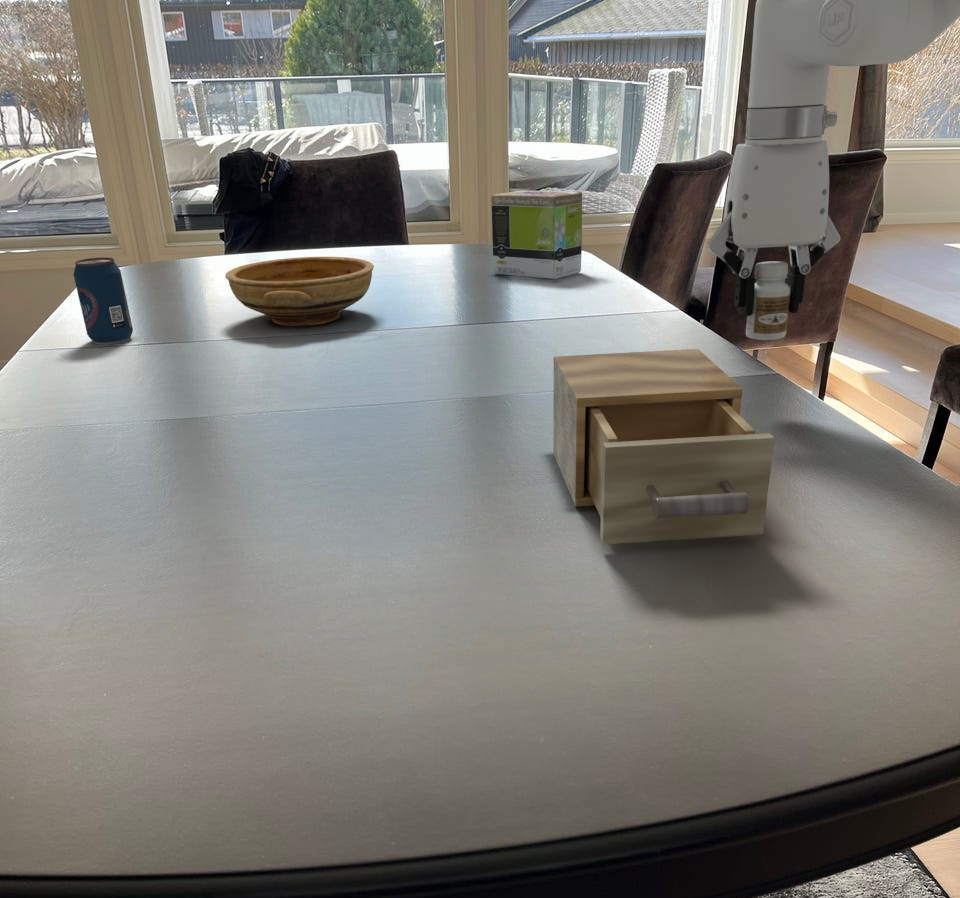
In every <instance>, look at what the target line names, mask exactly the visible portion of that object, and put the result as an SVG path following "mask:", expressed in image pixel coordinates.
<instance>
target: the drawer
mask: <svg viewBox="0 0 960 898" xmlns="http://www.w3.org/2000/svg"><path fill="white" fill-rule="evenodd" d="M774 444H775V436H773V435H772V434H771V433H770V432H767V433H766V432H765V433H756V430H755V428H753V427H752V425H750V424H749V423H748V422H747V421H746V420H745V419H744V418H743V417H742V416H741V414H740V415H739V414H738V413H737V412H736V411H735V410H734V409H733V408H732V407H731V406H730V405H729V404H728V403H727V402H726V401H725V400H724V399H713V400H695V401H677V402H660V403H642V404H624V405H606V406H589V407H586V414H585V464H584V482H585V484H586V487H587V489H588V491H589V493H590V495H591V497H592V500H593V502H594V504H595V508H596V510H597V513H598V515H599V517H600V527H599V529H600V531H599V539H600V541H601V544H602V545H615V544H618V545H619V544H631V543H633V544H634V543H647V542H648V543H649V542H662V541H663V542H664V541H665V542H666V541H680V540H694V539H695V540H696V539H698V540H699V539H711V538H713V539H714V538H726V537H743V536H761V535H763V534H764V527H765V520H766V517H765V516H766V510H767V503H768V495H769V486H770V477H771V470H772V461H773V452H774V446H775V445H774Z"/></svg>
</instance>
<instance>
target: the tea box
mask: <svg viewBox="0 0 960 898" xmlns="http://www.w3.org/2000/svg"><path fill="white" fill-rule="evenodd" d="M490 198H491V199H490V201H491V204H490V205H491V236H492V237H491V239H492V240H491V241H492V265H493V266H492V267H493V270H494V271H493V270H492V271H493V274H494V275H504V276H516V277H517V276H518V277H530V278H541V279H550V280H551V279H552V280H556V279H562V278H564V277H565V278H566V277H569V276H572V275H576V274H578V273H581V271H582V250H583V249H582V247H583V246H582V245H583V244H582V243H583V242H582V241H583V236H582V235H583V192H582V191H576V190H575V191H574V190H571V191H565V190H563V191H562V190H529V189H528V190H526V189H525V190H521V189H520V190H513V191H506V192H501V193H494V194H492V195H490Z"/></svg>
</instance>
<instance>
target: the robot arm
mask: <svg viewBox="0 0 960 898" xmlns="http://www.w3.org/2000/svg"><path fill="white" fill-rule="evenodd" d="M958 18H960V0H756V1H755V8H754V19H753V29H752V30H753V31H752V43H751V44H752V46H751V59H750V72H749V85H748V100H747V110H746V111H747V112H746V125H745V140H744V143H739V144H736V147H735V149H734V154H733V159H732V162H731V167H730V172H729V178H728V183H727V190H726V196H725V202H724V211H723V218H722V221H721V223H720V224H719V226H718V227H717V229H716V230H715V232H713V234H712V236H711V237H710V239H709V240H708V241H707V243H706V248H707V250H708V251H709V252H711V253H712V254H713V255H714V256H716V257H718V258H719V259H720V260H722V261H723V263H724V264H725V265H726V266H727V267H728V268H729V269H730V270H731V271H732V273H733V274H734V275H735V287H734V299H733V303H734V307H735V308H737V312H738V313H739V314H740V315H742V316H744V317H747V316H750V315H752V312H753V300H754V288H755V283H756V278H755V277H752V276H753V271H752V270H753V268H754V264H755V261H756V257H757V254H758V250H759V249H763V248H778V247H779V248H780V247H781V248H782V247H788V253H789V263H790V266H789V270H788V274H787V278H786V279H785V283H786V284H788V285H789V286H790V288H791V291H790V302H789V312H788V313H791V314H798V312H799V308H800V307H799V306H800V304H802V303H803V300H804V292H805V282H806V275H808V274H809V273H810V272H811V268H812V267H813V266H814V265H815V264H816V263H817V262H818V261H819V260H820V259H821V258H822V257H823V256H824V254H825V253H827V252H829V251H830V250H832V248H834V247H835V246H837V244H839V243H840V242H841V240H842V237H841V234H840V233H839V231H838V229H837V227H836V226H835V224H834V222H833V220H832V219H831V217H830V215H829V202H830V199H829V198H830V162H829V148H828V141H827V140H826V139H825V140H824V139H822V135H824V134H825V130H826V129H828V128H829V127H835V126H836V124H837V121H838V115H837V112H836V111H830V110H827V107H828V105H826V99H827V89H828V81H829V70H830V66H834V67H863V66H864V67H865V66H870V65H872V66H873V65H890V64H898V63H902V62H903V61H904V62H905V61H906V60H909V59H910V58H912V57H914V56H915V55H917V54H918V53H920V52H921V51H923V50H924V49H925V48H927V47H928V46H929V45H930V44H932V43H933V42H934V41H935V40H936V39H938V37H939V36H940V35H941V34H943V33H944V32H945V31H946V30H947V29H948V28H949V27H950V26H951V25H953V23H954V22H955V21H957V19H958ZM726 242H727V243H730V244H733V245H735V246H737V251H736V253H735V252H734V251H733V250H731V249H730V248H729V247H728V246H727V245H726ZM809 245H810V246H809Z"/></svg>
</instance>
